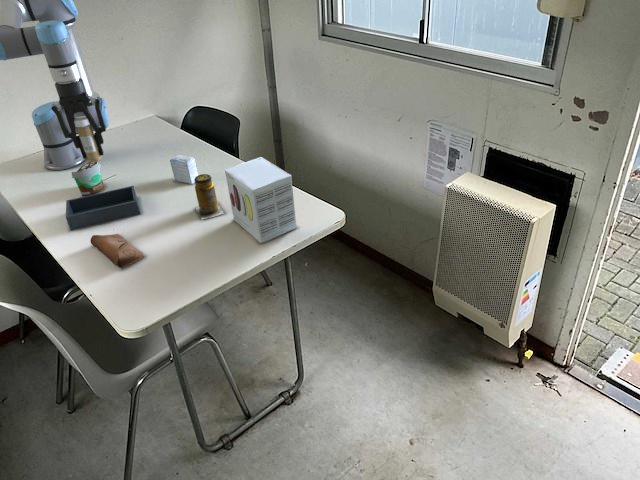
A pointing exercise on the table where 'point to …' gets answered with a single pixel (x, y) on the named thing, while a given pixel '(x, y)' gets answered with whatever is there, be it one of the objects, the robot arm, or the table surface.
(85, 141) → the sprinkles bottle
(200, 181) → the condiment
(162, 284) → the table surface
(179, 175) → the medicine box
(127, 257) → the sunglasses case
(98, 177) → the food container
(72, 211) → the dark grey open tray
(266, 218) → the supplement box
